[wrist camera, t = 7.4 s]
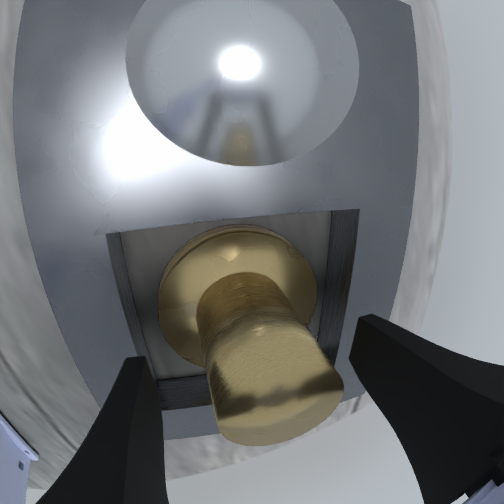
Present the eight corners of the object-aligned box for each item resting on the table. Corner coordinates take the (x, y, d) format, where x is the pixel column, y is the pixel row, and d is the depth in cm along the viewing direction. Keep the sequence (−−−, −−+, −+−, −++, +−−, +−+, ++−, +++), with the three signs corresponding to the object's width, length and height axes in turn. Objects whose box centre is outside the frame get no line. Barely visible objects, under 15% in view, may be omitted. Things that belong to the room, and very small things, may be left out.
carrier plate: (349, 372, 17) (376, 410, 14) (123, 414, 14) (122, 464, 11) (381, 15, 9) (435, -2, 6) (46, 11, 6) (8, -22, 3)
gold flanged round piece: (301, 338, 15) (360, 431, 9) (174, 362, 13) (189, 477, 8) (308, 215, 12) (410, 288, 6) (145, 235, 10) (124, 347, 5)
